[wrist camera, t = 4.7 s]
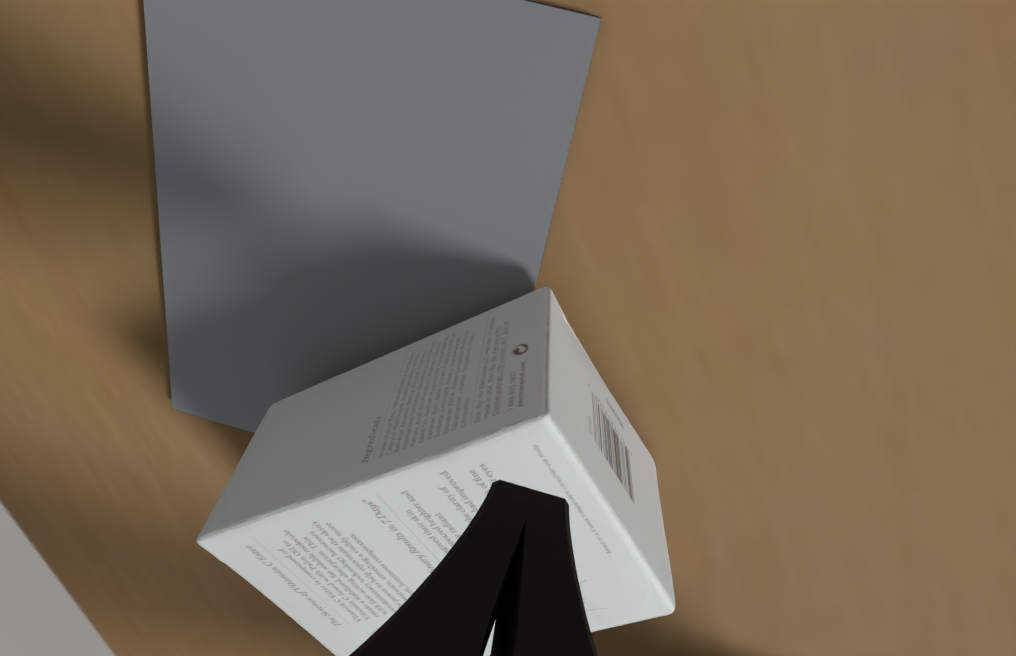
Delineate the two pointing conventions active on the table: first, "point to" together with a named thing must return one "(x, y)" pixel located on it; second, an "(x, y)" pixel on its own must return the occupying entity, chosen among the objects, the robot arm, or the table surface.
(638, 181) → the table surface
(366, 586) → the small box
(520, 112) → the mat
